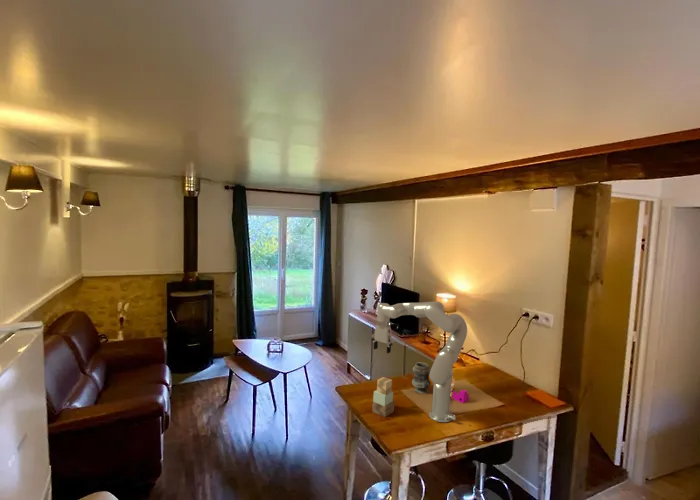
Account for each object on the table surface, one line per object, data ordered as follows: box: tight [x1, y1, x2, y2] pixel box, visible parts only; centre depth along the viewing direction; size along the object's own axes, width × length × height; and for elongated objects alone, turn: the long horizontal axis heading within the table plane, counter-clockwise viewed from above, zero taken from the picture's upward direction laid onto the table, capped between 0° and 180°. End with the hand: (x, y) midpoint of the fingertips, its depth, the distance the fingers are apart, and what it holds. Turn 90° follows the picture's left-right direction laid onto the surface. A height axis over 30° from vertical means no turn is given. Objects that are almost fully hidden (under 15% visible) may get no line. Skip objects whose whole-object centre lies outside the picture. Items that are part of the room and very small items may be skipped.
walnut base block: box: [371, 401, 395, 418], centre depth 215 cm, size 9×9×6 cm
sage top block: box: [372, 389, 394, 406], centre depth 215 cm, size 8×8×6 cm
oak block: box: [376, 376, 393, 395], centre depth 214 cm, size 6×6×7 cm
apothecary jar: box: [411, 362, 432, 394], centre depth 244 cm, size 12×12×18 cm
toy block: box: [452, 389, 470, 404], centre depth 236 cm, size 15×6×8 cm, turn 42°
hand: (381, 350), depth 230 cm, fingers open, 9 cm apart
